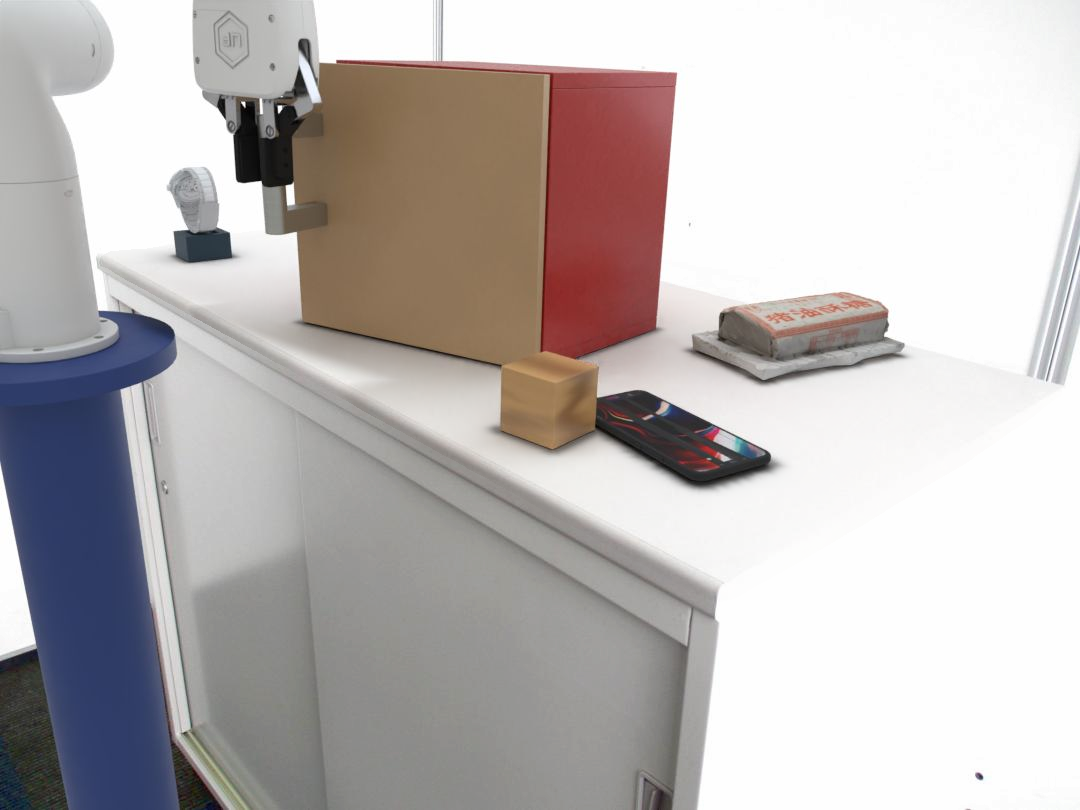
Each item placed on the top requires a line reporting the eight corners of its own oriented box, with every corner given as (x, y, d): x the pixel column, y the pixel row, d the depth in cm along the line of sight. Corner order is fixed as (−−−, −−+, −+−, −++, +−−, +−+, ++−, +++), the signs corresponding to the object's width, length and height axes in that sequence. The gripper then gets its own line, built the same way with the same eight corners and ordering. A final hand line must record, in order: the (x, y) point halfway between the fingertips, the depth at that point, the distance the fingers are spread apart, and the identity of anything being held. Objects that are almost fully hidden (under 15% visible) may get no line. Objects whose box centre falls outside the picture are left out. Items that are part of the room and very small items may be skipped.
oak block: (552, 449, 65) (555, 382, 63) (499, 430, 68) (500, 365, 66) (595, 430, 68) (599, 366, 67) (543, 412, 71) (545, 350, 69)
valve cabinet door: (493, 394, 74) (499, 75, 65) (252, 337, 86) (229, 60, 77) (540, 369, 80) (550, 74, 71) (309, 319, 92) (293, 61, 83)
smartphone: (641, 387, 75) (777, 454, 63) (640, 395, 75) (776, 463, 63) (567, 402, 71) (697, 476, 60) (567, 410, 72) (696, 486, 60)
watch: (213, 248, 121) (204, 162, 117) (237, 259, 116) (229, 169, 112) (169, 253, 118) (159, 164, 114) (193, 265, 112) (183, 172, 108)
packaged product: (831, 282, 94) (912, 306, 86) (824, 327, 96) (903, 355, 88) (693, 300, 85) (769, 329, 77) (688, 350, 87) (762, 383, 79)
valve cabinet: (542, 370, 80) (553, 72, 72) (346, 310, 96) (335, 59, 87) (656, 328, 93) (677, 72, 85) (467, 282, 109) (468, 61, 100)
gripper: (142, -61, 73) (164, 176, 80) (295, -60, 66) (305, 200, 73) (216, -51, 79) (231, 169, 86) (363, -49, 72) (366, 190, 79)
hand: (265, 181), depth 79 cm, fingers closed, pressing on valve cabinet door
